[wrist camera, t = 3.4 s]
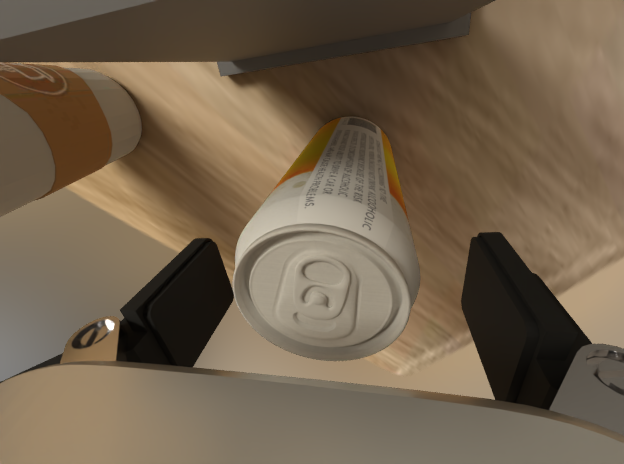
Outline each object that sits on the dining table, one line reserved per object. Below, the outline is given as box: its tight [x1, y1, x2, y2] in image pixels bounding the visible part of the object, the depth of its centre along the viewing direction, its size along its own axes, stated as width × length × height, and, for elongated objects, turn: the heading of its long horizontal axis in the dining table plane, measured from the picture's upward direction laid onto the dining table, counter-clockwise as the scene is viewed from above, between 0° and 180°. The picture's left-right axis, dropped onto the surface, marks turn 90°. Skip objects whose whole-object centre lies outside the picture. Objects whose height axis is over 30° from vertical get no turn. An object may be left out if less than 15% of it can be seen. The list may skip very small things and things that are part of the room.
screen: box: [0, 0, 495, 76], centre depth 10 cm, size 3×15×16 cm, turn 98°
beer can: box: [233, 116, 420, 361], centre depth 15 cm, size 6×6×15 cm
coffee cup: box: [0, 62, 142, 217], centre depth 16 cm, size 8×8×15 cm
